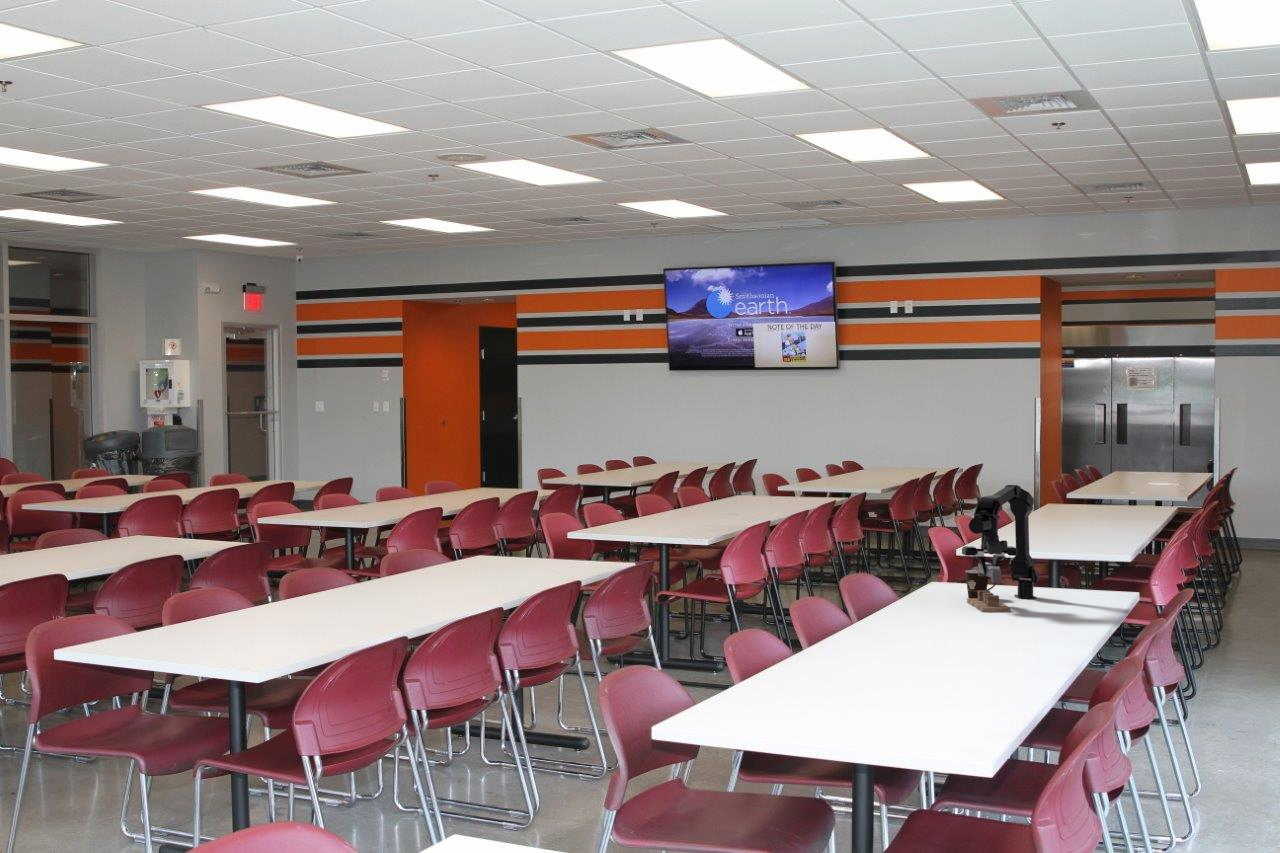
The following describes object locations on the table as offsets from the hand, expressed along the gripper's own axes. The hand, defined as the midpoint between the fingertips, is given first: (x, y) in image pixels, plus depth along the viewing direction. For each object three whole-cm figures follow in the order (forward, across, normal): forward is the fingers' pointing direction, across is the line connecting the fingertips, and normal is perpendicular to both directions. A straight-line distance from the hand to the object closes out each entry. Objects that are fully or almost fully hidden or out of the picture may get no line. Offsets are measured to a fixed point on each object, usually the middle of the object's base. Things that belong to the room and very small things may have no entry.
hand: (989, 574), depth 439 cm
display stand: (+12, 0, 0) cm, 12 cm away
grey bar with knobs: (+2, 0, 0) cm, 2 cm away
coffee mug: (+12, +2, +19) cm, 23 cm away
